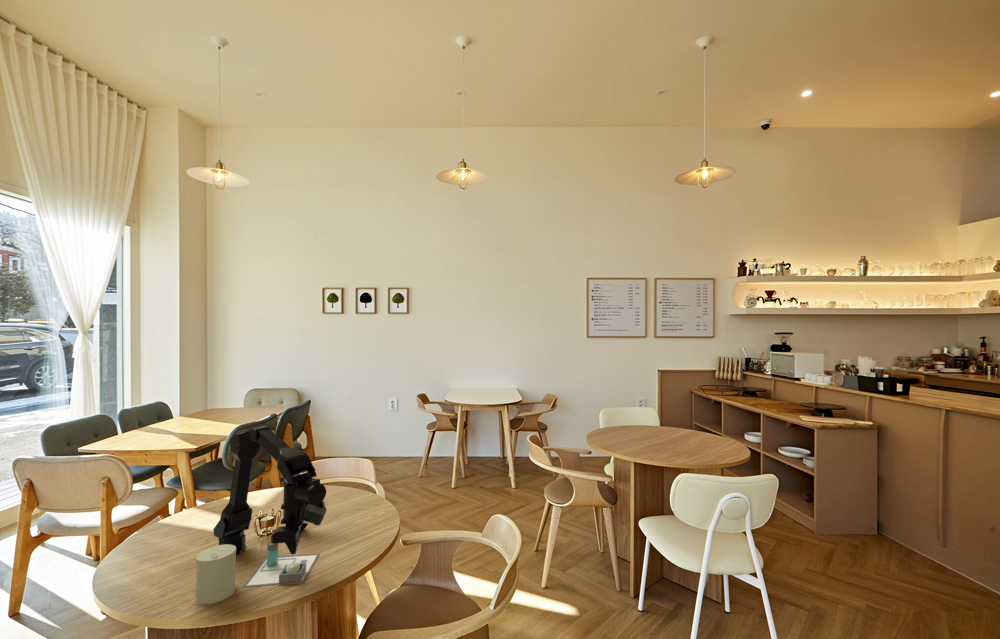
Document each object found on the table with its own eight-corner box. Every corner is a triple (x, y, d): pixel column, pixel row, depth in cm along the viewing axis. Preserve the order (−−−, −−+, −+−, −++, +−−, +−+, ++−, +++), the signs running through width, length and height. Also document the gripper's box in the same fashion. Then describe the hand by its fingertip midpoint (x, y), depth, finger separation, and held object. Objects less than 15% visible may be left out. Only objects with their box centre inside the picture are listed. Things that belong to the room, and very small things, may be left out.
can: (190, 610, 108) (191, 562, 109) (199, 590, 117) (200, 546, 117) (232, 601, 112) (233, 554, 113) (238, 583, 121) (239, 539, 121)
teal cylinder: (265, 567, 128) (265, 546, 128) (268, 562, 131) (269, 541, 131) (275, 566, 128) (276, 545, 128) (279, 561, 131) (279, 540, 131)
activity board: (242, 589, 117) (243, 578, 118) (265, 559, 133) (265, 549, 133) (304, 584, 120) (304, 573, 120) (319, 555, 136) (319, 546, 136)
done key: (283, 580, 120) (284, 569, 120) (288, 573, 124) (288, 563, 124) (297, 579, 121) (297, 568, 121) (301, 572, 124) (301, 562, 124)
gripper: (314, 509, 115) (314, 568, 114) (331, 485, 134) (330, 536, 133) (270, 512, 113) (269, 572, 113) (293, 487, 132) (292, 539, 131)
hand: (293, 553), depth 122 cm, fingers closed
